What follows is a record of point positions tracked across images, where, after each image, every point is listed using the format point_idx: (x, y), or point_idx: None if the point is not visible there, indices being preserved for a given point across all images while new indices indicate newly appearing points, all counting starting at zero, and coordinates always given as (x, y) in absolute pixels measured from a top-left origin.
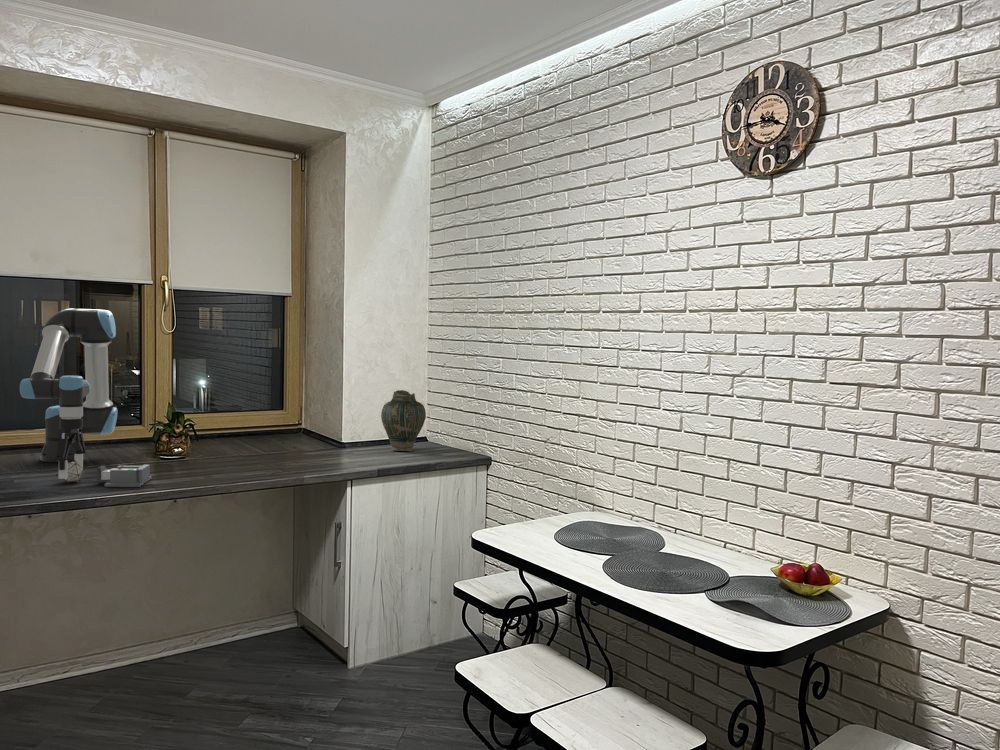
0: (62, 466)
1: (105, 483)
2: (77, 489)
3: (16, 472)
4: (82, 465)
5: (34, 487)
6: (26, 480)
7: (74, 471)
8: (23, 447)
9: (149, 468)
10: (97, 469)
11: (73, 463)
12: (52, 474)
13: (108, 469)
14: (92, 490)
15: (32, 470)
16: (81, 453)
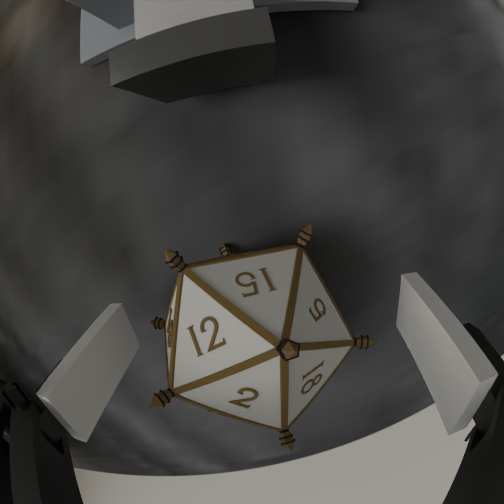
0: (487, 348)
1: (342, 1)
2: (451, 147)
3: (158, 468)
4: (94, 328)
5: (392, 376)
6: (253, 443)
7: (315, 291)
8: None
9: None
10: (273, 47)
11: (271, 372)
12: (130, 411)
13: (138, 29)
14: (454, 55)
15: (120, 449)
16: (39, 406)
